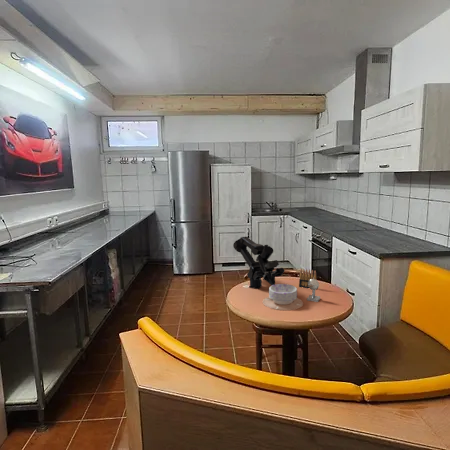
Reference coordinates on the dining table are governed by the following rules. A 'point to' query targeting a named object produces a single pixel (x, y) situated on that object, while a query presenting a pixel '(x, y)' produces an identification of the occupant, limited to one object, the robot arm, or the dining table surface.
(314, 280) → the dial gauge stand
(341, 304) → the dining table surface
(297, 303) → the centring plate
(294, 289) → the white floral bowl
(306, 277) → the ammunition clip
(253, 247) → the robot arm
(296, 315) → the dining table surface
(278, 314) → the dining table surface
